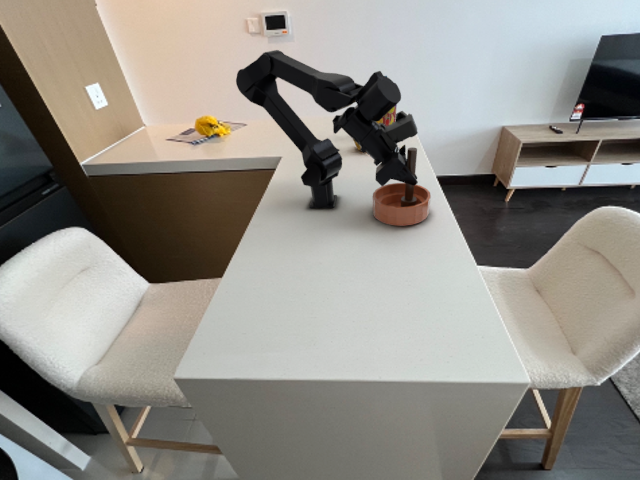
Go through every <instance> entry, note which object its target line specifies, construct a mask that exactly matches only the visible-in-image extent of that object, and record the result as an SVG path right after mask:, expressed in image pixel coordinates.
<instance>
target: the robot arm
mask: <svg viewBox="0 0 640 480" xmlns="http://www.w3.org/2000/svg"><path fill="white" fill-rule="evenodd" d="M386 76H387V75H384V74H383V72H382V71H381V70H377V71H374V72H373V73H372V74H371V76H369V78H368V80H367V82H366V83H364V85H362V84H359V83H357V82H355V80H354V79H353V78H352V77H351V76H349V75H346V74H340V73H335V72H324V71H320V70H317V69H315V68H314V67H312V66H309V65H308V64H306V63H304V62H301V61H299V60H297V59H295V58H293V57H291V56H289V55H286V54H285V53H284V52H283V51H281V50H280V49H279V50H278V49H274V50H269V51H264V52H263V53H262V54H261V55H259V57H258V58H256V60H254V61H253V62H251V63H250V64H248V65H247V66H245V67H244V68H241V69H239V70H238V71H237V73H236V79H235V84H236V87H237V90H238V91H239V92H240V94H241V95H242V96H243V97H245V98H246V100H248V101H249V102H250V103H253V104H254V105H257V106H259V107H261V108H263V109H264V110H265V111H266V112H267V113H268V115H269V116H270V117H271V118H272V120H273V121H274V122H275V123H276V124H277V125H278V127H279V128H280V129H281V130H282V131H283V133H284V134H285V135H286V136H287V137H288V138H289V140H290V141H291V142H292V143H293V145H294V146H295V147H296V148H297V149H298V151H300V153H301V157H302V161H303V166H304V167H305V169H306V170H305V171H304V172H303V173H302V174H301V176H300V179H301V181H302V185H303V186H306V187H310V192H311V201H310V203H309V205H308V207H309V209H334V208H335V206H336V201H337V198H338V196H337V194H335V193H334V185H333V184H334V183H333V180H334V178H337V177H339V173H340V171H341V169H342V167H343V158H342V155H341V153H339V152H340V148H337V147H336V146H335V145H334V144H333V141H332V140H331V139H330V138H325V139H322V140H321V139H318V138H317V137H316V136H315V134H313V132H312V131H311V130H310V128H308V126H307V125H306V124H305V122H303V120H302V119H301V118H300V116H299V115H298V114H297V113H296V112H295V111H294V110H293V108H292V107H291V106H290V105H289V104H288V103H287V101H286V100H285V99H284V98H283V96H282V95H281V94H280V93H279V89H278V83H277V79H280V80H282V81H284V82H286V83H287V84H290V85H292V86H294V87H296V88H298V89H300V90H302V91H303V92H306V93H307V94H308V95H310V96H311V97H312V99H313V101H314V102H315V104H317V105H318V106H319V107H320V108H321V109H323V110H325V111H326V112H328V113H331V114H333V113H335V112H338V111H340V110H342V109H345V110H344V112H343V113H341V114H339V115H338V114H336V115H335V116H334V117H333V119H332V120H331V121H332V125H333V130H332V131H333V134H335V135H336V134H338V132H339V131H341V129H342V130H343V131H344V132H345V133H346V134H347V135H348V136H349V137H350V138H351V139H352V140H353V141H354V140H355V141H356V142H357V143H358V144H359V145H360V146H361V147H360V150H359V151H361V153H363V154H364V153H365V152H366V153H367V154H368V155H369V157H371V158H372V159H373V164H374V165H375V166H376V168H375V181H376V182H377V183H378V185H380V187H381V186H384V185H387V184H388V182H389V181H391V180H394V181H398V182H399V183H407V184H410V185H413V186H415V185H418V183H419V181H418V176H417V174H416V173H415V177H414V175H413V174H412V173H411V171H410V170H409V168H408V167H407V153H406V151H407V150H406V147H407V146H406V144H403V145H402V146H401V147H399V145H398V144H399V143H401V142H404V141H405V140H408V139H409V138H413V137H415V136H417V135H418V134H419V132H418V127H417V124H416V123H415V120H414V116H413V114H412V113H408V114H407V113H406V112H404V111H403V110H400V111H398V112H396V118H395V122H392V124H391V125H389V126H387V127H386V126H385V125H384V124H383V123H382V124H381V123H379V124H378V123H377V122H376V121H379V120H381V119H382V118H383V117H384V116H385V115H386V114H387V113H388V112H389V111H390V110H391V109H392V108H393V107H394V106H395V105H396V104H397V105H398V104H399V103H400V102H401V99H402V94H401V90H400V88H399V86H398V84H397V83H396V82H394V81H393V80H392V79H391V78H390V77H388V76H387V77H386ZM355 103H356V104H357V105H355V106H352V105H353V104H355Z"/></svg>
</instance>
